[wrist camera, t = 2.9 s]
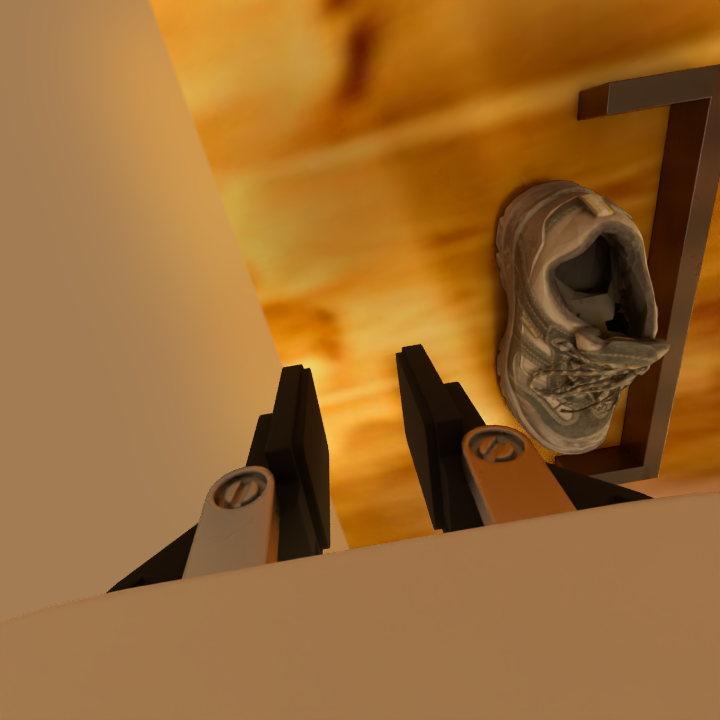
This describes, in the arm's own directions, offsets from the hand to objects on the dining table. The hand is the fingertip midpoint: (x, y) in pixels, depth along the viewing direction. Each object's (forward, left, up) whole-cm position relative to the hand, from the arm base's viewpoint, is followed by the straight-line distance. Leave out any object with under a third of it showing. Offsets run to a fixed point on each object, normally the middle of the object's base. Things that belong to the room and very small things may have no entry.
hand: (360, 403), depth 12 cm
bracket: (+7, +21, -19) cm, 29 cm away
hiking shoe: (+7, +15, -19) cm, 25 cm away
